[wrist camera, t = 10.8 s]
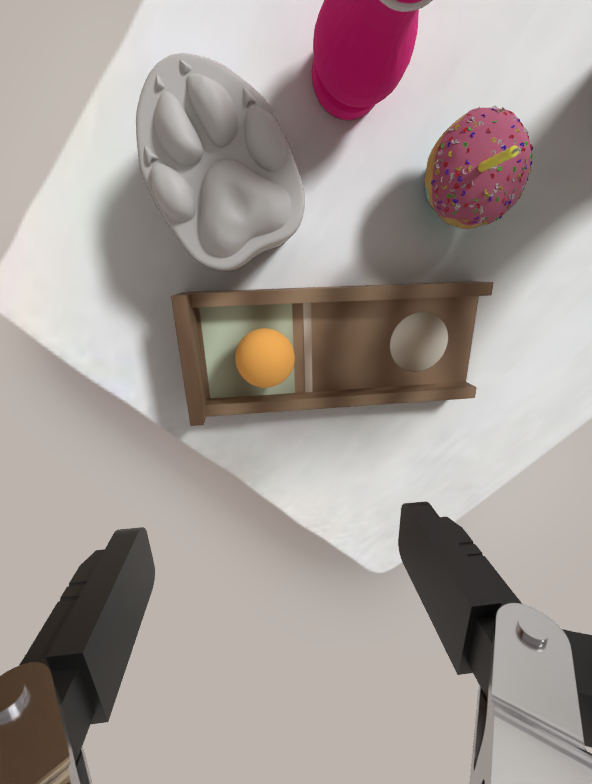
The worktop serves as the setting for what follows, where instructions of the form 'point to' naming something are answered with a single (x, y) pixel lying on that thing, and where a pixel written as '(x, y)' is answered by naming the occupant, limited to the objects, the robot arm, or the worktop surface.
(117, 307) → the worktop surface
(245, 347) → the ball
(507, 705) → the robot arm
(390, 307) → the wooden tray
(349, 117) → the pepper mill
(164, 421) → the worktop surface
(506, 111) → the cupcake
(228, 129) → the lumpy-topped squat cylinder
